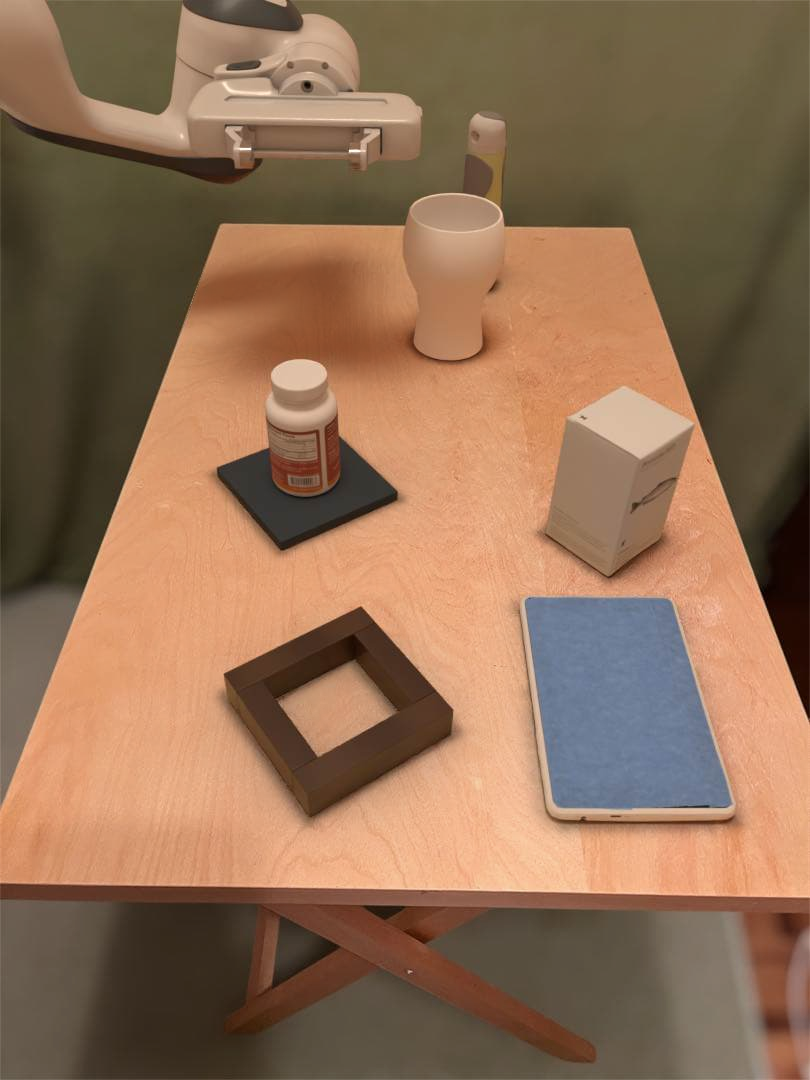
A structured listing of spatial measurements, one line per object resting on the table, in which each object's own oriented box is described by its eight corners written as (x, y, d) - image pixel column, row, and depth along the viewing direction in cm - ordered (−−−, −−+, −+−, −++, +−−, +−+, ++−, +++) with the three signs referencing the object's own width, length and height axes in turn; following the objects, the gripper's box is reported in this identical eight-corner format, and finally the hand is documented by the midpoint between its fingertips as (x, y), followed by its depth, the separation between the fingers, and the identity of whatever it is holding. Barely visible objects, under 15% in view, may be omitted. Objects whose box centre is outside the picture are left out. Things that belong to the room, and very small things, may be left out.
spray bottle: (447, 283, 112) (457, 112, 99) (474, 271, 115) (488, 103, 101) (475, 298, 110) (489, 125, 96) (503, 285, 112) (520, 115, 98)
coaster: (281, 550, 77) (280, 542, 77) (217, 475, 84) (216, 467, 84) (397, 499, 82) (398, 491, 82) (328, 432, 89) (327, 424, 89)
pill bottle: (314, 448, 86) (308, 345, 78) (354, 481, 83) (351, 377, 75) (258, 473, 83) (246, 369, 75) (297, 509, 80) (289, 403, 72)
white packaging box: (608, 580, 76) (639, 460, 67) (542, 533, 80) (563, 414, 71) (663, 541, 79) (698, 422, 71) (597, 498, 83) (623, 380, 75)
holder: (309, 817, 59) (307, 794, 57) (227, 697, 66) (223, 673, 64) (451, 733, 64) (453, 709, 62) (361, 629, 71) (361, 605, 69)
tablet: (737, 823, 60) (742, 813, 59) (545, 823, 59) (548, 812, 58) (671, 605, 74) (674, 594, 73) (516, 604, 73) (517, 592, 73)
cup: (410, 313, 107) (414, 185, 96) (501, 324, 105) (514, 196, 95) (391, 361, 99) (393, 228, 89) (488, 374, 98) (501, 240, 87)
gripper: (421, 140, 87) (425, 200, 77) (206, 136, 87) (182, 196, 77) (423, 69, 83) (428, 123, 73) (198, 64, 83) (171, 118, 73)
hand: (300, 160), depth 75 cm, fingers open, 8 cm apart
